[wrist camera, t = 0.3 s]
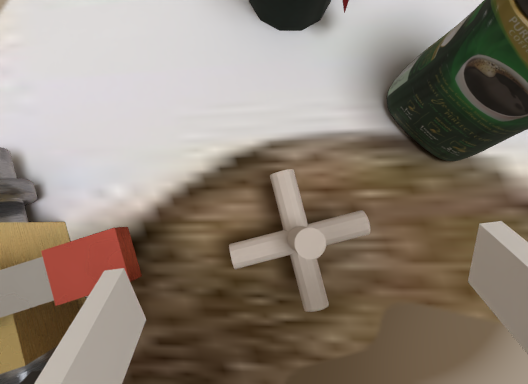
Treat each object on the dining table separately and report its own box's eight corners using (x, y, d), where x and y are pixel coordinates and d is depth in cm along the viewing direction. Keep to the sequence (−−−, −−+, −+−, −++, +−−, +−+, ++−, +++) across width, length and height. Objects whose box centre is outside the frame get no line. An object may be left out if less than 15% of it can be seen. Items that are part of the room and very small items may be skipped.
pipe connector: (360, 277, 28) (417, 307, 18) (250, 306, 28) (246, 354, 18) (330, 167, 29) (369, 139, 19) (222, 194, 29) (205, 180, 19)
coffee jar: (502, 115, 30) (898, -53, 12) (446, 176, 29) (770, 101, 11) (425, 45, 30) (686, -227, 12) (368, 103, 30) (552, -89, 11)
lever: (-101, 368, 18) (-140, 384, 16) (-118, 291, 19) (-158, 299, 17) (145, 287, 19) (133, 294, 17) (124, 215, 19) (110, 215, 17)
